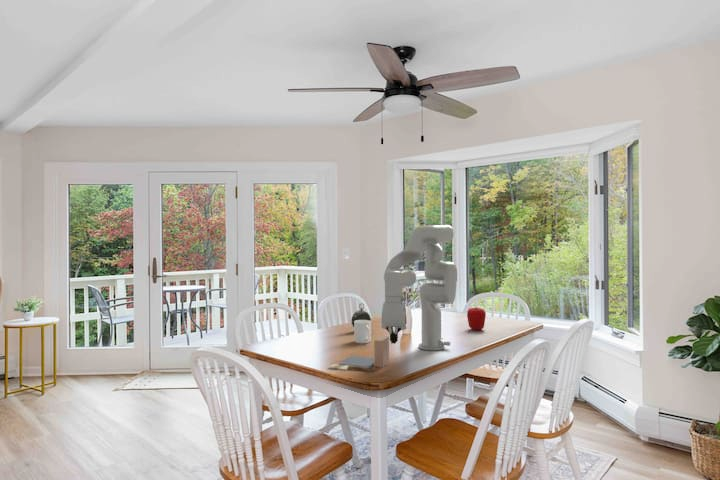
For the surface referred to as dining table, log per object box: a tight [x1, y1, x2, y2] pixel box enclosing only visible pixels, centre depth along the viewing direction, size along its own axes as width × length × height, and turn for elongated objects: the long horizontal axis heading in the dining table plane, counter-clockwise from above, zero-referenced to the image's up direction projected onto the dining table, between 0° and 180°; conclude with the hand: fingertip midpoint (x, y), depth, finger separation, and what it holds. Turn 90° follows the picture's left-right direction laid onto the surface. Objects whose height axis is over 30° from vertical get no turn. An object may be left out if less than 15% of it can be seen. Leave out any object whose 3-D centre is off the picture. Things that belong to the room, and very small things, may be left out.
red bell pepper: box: [466, 306, 487, 331], centre depth 266 cm, size 10×10×14 cm
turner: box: [328, 363, 373, 372], centre depth 189 cm, size 18×5×1 cm, turn 71°
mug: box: [353, 320, 372, 345], centre depth 236 cm, size 9×12×11 cm
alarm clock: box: [351, 303, 372, 328], centre depth 263 cm, size 11×5×16 cm, turn 121°
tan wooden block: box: [373, 335, 390, 368], centre depth 196 cm, size 4×9×11 cm, turn 161°
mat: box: [338, 355, 374, 367], centre depth 199 cm, size 14×14×1 cm
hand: (393, 342), depth 194 cm, fingers closed
